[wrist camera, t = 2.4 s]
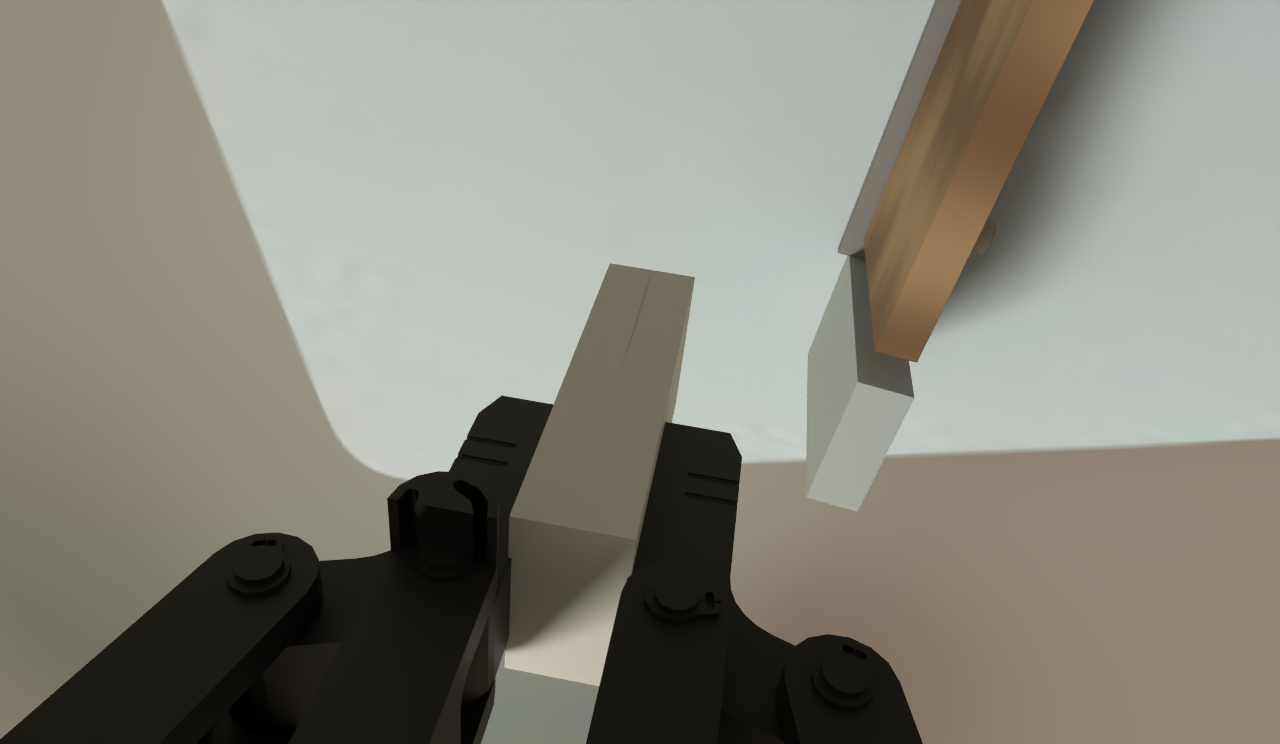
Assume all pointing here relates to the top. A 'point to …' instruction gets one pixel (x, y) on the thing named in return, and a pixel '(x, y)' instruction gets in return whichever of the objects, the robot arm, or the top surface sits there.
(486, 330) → the top surface
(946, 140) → the door
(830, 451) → the wall
